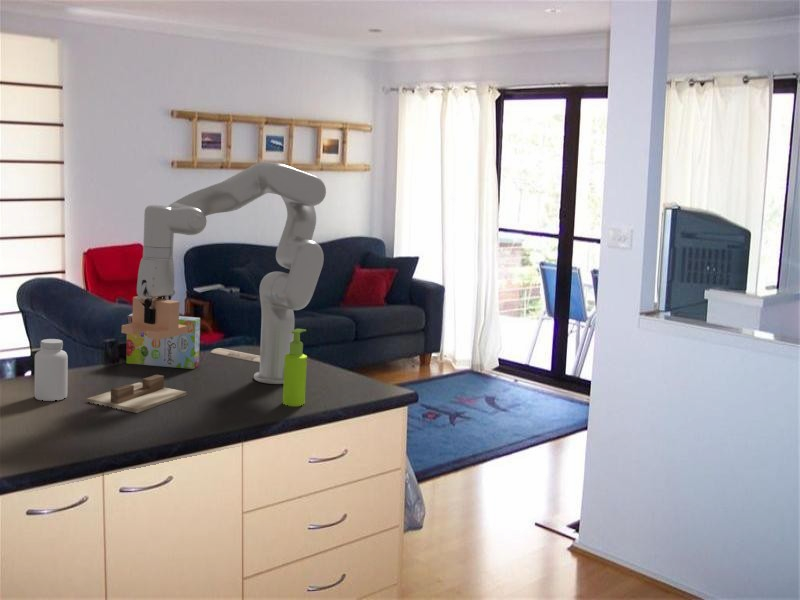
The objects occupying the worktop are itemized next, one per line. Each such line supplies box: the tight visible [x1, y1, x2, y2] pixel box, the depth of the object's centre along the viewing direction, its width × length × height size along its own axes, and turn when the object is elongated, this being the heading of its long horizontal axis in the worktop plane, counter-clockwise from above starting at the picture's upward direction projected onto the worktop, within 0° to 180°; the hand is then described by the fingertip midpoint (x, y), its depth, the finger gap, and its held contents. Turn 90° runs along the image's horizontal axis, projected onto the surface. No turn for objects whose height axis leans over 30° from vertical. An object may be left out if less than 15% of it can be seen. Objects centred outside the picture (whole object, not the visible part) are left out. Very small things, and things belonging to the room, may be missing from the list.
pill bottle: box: [34, 338, 69, 402], centre depth 236 cm, size 8×8×15 cm
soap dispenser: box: [282, 328, 308, 407], centre depth 245 cm, size 6×7×20 cm
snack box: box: [125, 313, 201, 370], centre depth 277 cm, size 21×6×15 cm, turn 84°
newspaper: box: [210, 347, 260, 364], centre depth 293 cm, size 24×7×2 cm, turn 63°
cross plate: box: [121, 296, 188, 340], centre depth 242 cm, size 12×12×9 cm
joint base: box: [86, 374, 188, 414], centre depth 241 cm, size 16×20×4 cm
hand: (155, 321), depth 242 cm, fingers closed on cross plate, 4 cm apart
